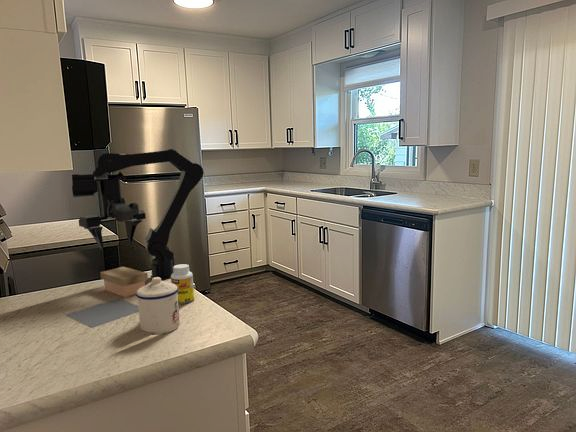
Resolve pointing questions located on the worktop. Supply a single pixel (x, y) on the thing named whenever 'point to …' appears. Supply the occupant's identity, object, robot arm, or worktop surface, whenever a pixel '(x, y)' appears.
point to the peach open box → (123, 288)
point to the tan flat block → (124, 276)
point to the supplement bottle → (183, 283)
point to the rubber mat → (104, 312)
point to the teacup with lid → (158, 307)
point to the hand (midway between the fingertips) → (116, 245)
